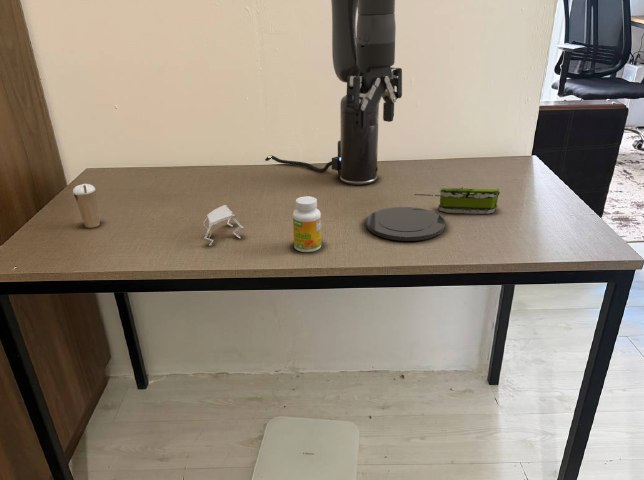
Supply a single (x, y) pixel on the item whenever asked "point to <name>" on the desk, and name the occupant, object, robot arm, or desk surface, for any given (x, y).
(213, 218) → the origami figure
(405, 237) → the plate
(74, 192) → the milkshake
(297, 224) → the supplement bottle
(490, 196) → the toy tank
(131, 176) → the desk surface
